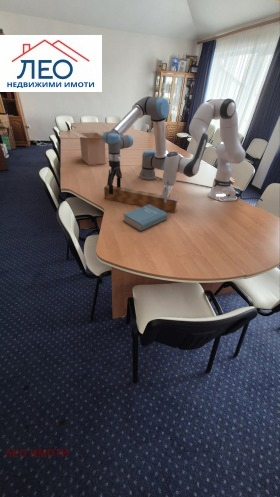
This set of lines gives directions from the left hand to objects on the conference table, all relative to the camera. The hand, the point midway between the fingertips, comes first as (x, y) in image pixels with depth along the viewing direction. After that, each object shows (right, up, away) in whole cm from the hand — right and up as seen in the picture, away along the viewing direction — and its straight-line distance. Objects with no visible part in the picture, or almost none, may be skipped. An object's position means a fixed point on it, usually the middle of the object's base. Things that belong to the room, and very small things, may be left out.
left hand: (115, 190), depth 159 cm
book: (+21, -24, -20) cm, 38 cm away
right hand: (+36, -8, -9) cm, 38 cm away
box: (-32, +52, +78) cm, 99 cm away
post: (+18, -10, 0) cm, 20 cm away
